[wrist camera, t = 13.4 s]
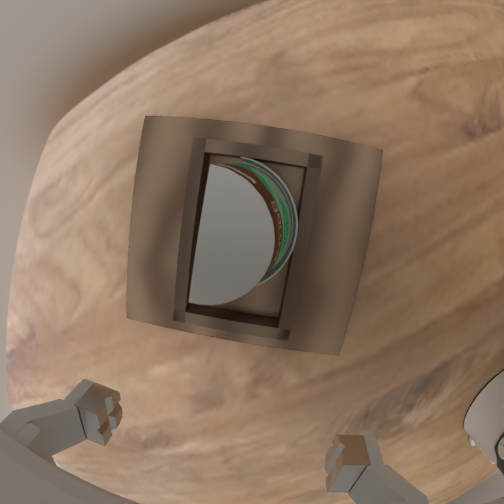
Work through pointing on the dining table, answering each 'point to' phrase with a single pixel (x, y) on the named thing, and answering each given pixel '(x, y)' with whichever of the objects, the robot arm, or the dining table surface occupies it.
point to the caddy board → (305, 249)
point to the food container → (241, 231)
